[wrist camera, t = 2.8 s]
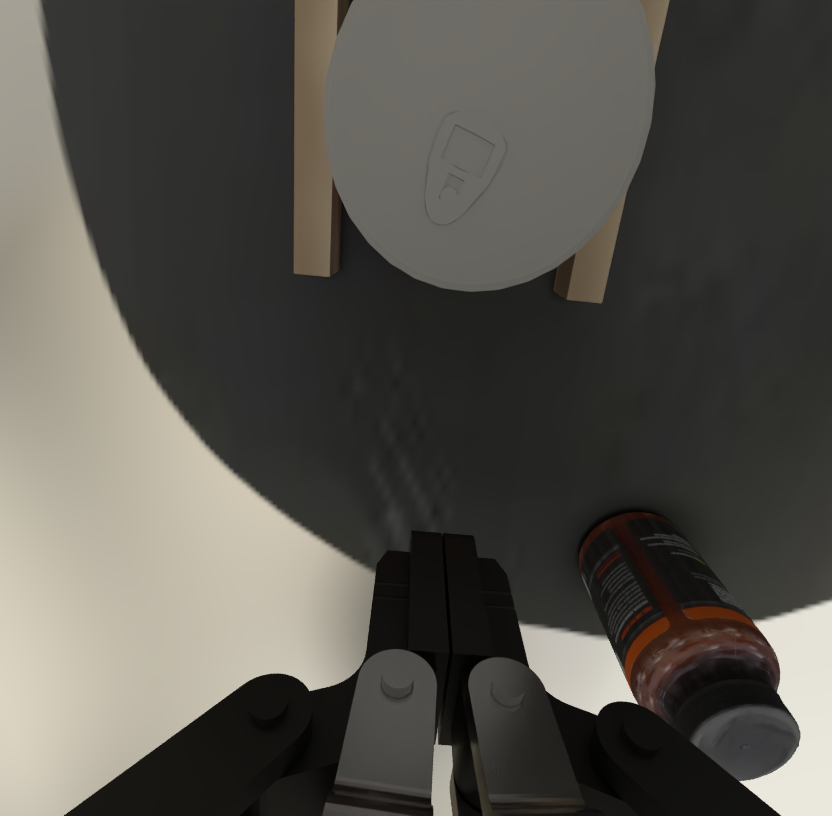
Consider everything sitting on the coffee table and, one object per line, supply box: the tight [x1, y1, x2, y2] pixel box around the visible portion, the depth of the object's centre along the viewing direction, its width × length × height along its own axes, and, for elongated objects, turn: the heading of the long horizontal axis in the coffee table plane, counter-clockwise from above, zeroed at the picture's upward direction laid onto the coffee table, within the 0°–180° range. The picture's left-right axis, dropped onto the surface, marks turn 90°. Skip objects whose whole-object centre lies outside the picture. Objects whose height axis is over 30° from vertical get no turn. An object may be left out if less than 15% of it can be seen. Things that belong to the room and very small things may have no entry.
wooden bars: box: [294, 0, 669, 303], centre depth 20 cm, size 13×12×2 cm
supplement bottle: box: [579, 512, 800, 781], centre depth 24 cm, size 6×6×11 cm
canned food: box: [323, 0, 655, 292], centre depth 17 cm, size 8×8×11 cm
